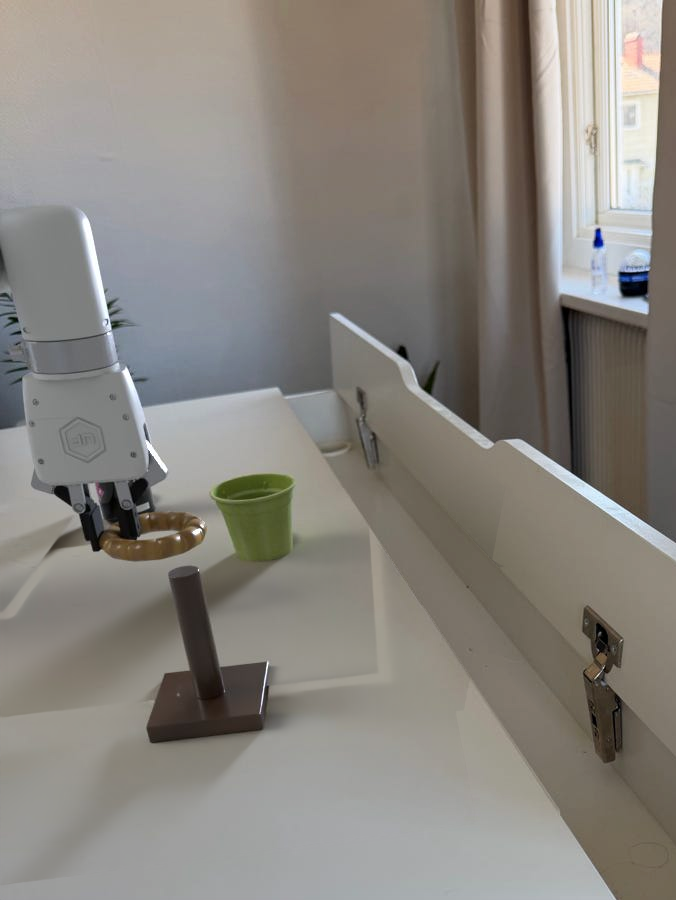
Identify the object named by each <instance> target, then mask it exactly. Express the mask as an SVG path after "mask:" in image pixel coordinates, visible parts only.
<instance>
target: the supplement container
mask: <svg viewBox="0 0 676 900" xmlns="http://www.w3.org/2000/svg"><path fill="white" fill-rule="evenodd" d="M146 472H148V470H147V471H146ZM146 472H145V473H146ZM136 479H137V478H136ZM136 479H134V480H136ZM93 485H94V487H95V492H96V495H97V496H96V497H97V499H98V503H99V504H98V505H99V507H100V511H101V516H102V519H103V520H104V521H105V522H106V523H108V524H110V523H111V524H110V525H112V524H114V523H116V522H118V519H117V514H116V512H117V510H118V509H119V505H118V503H119V499H118V495H117V491H116V487H115V483H114V482H103V483H93ZM135 504H136V508H137V513H138V515H140V514H144V513H149V512H156V504H155V499H154V495H153V491H152V487H149V488H148V489H146V490H145V492H144V493H143V494H142V495H141V497H140V498H139V499H138V500H137V502H136V503H135Z"/></svg>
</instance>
